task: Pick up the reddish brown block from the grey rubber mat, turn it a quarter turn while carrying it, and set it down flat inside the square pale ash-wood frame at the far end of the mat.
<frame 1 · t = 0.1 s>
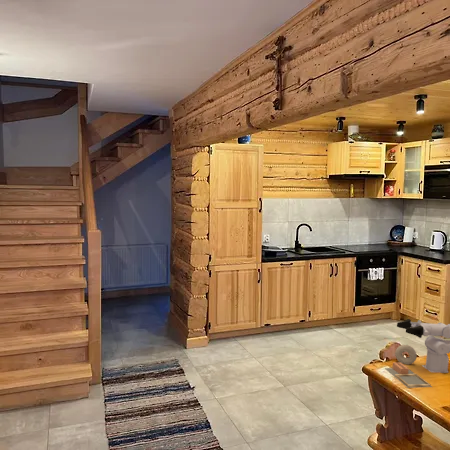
hand: (401, 327, 209), 22 cm above the table, tool horizontal, fingers open, 7 cm apart
frame: (412, 382, 199), resting on mat
mat: (407, 378, 203), on the table
donut: (404, 364, 219), on the table
reddish brown block: (400, 371, 209), point 1 cm above the table, touching mat
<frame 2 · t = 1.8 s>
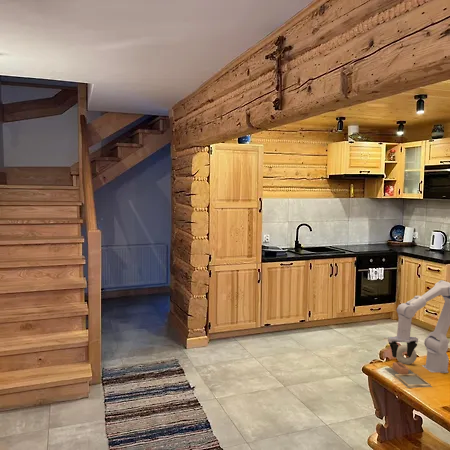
hand: (401, 356, 208), 8 cm above the table, tool pointing down, fingers open, 7 cm apart
nothing on the table moved.
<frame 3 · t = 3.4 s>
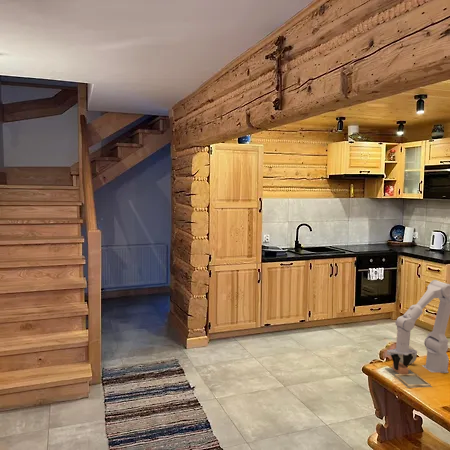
hand: (400, 369, 208), 2 cm above the table, tool pointing down, fingers closed on reddish brown block, 4 cm apart
reddish brown block: (400, 371, 209), point 1 cm above the table, touching gripper, mat
everything else where it was.
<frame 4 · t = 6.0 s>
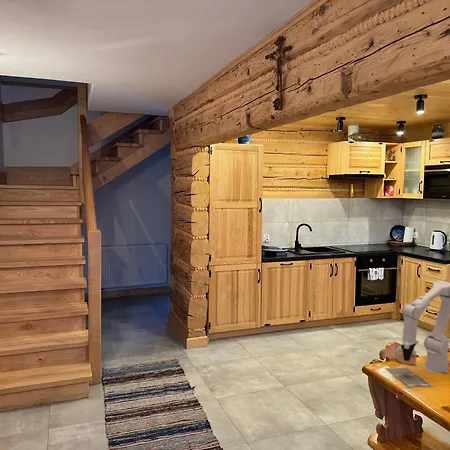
hand: (407, 358, 203), 9 cm above the table, tool pointing down, fingers closed on reddish brown block, 4 cm apart
reddish brown block: (407, 361, 203), point 8 cm above the table, touching gripper
everything else where it was.
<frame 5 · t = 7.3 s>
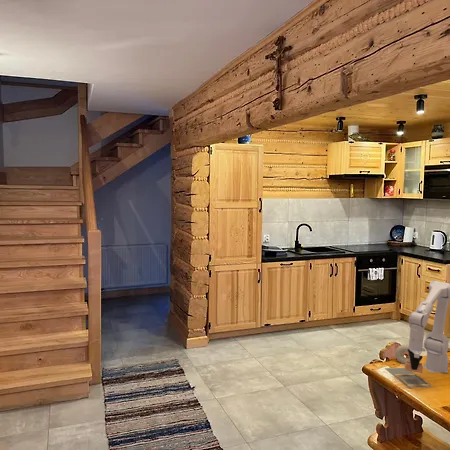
hand: (413, 367, 198), 7 cm above the table, tool pointing down, fingers closed on reddish brown block, 4 cm apart
reddish brown block: (413, 369, 198), point 6 cm above the table, touching gripper
everything else where it was.
when the fingers open (2 cm above the table, at t = 8.5 s): reddish brown block stays where it is, resting on mat.
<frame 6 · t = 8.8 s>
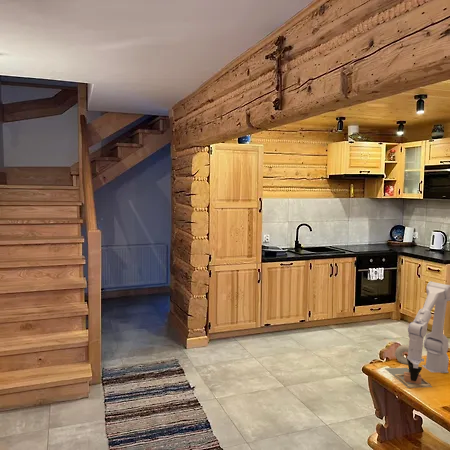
hand: (412, 377, 199), 2 cm above the table, tool pointing down, fingers open, 7 cm apart
reddish brown block: (412, 381, 199), point 1 cm above the table, touching mat
everything else where it was.
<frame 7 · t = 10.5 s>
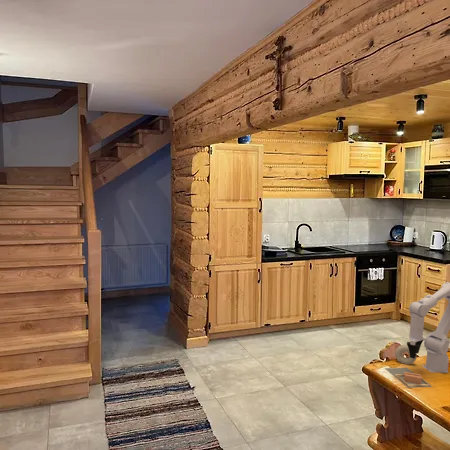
hand: (414, 355, 207), 9 cm above the table, tool pointing down, fingers open, 7 cm apart
nothing on the table moved.
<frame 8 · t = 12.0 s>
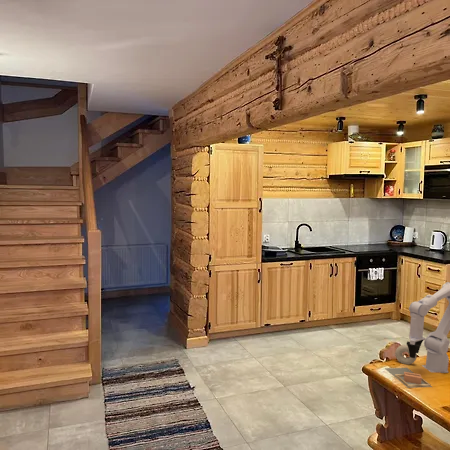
hand: (414, 355, 207), 9 cm above the table, tool pointing down, fingers open, 7 cm apart
nothing on the table moved.
at the end: reddish brown block 0.0 cm off-centre on the frame, point 0.6 cm above the frame's base; reddish brown block tilted 0°; the gripper is holding nothing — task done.
